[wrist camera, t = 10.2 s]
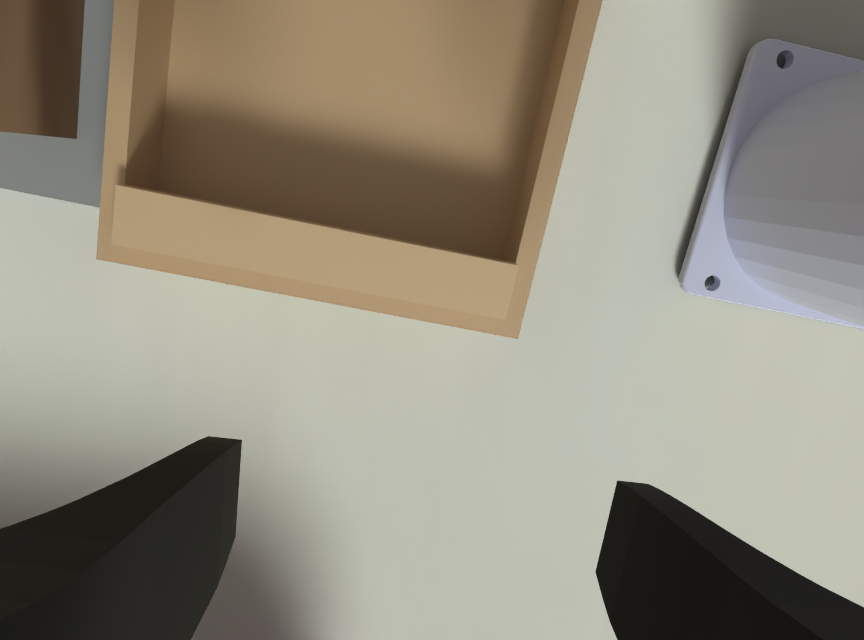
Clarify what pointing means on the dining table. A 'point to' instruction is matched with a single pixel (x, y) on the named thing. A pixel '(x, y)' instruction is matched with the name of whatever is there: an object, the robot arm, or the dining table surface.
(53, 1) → the box
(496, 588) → the dining table surface
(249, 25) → the shallow wooden tray
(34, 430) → the dining table surface
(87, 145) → the mat
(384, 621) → the dining table surface
